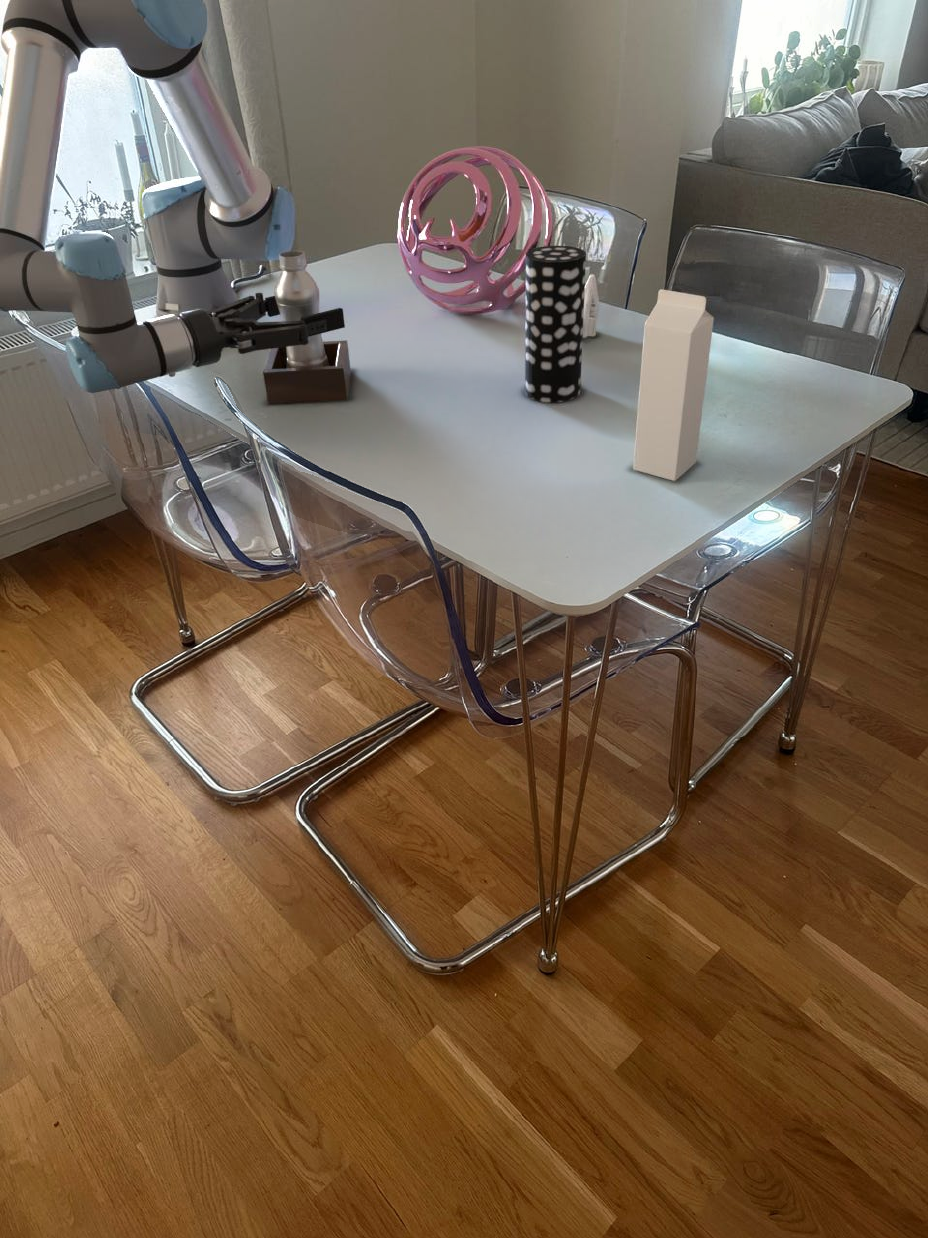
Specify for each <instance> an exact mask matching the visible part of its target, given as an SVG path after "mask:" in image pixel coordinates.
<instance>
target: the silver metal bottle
mask: <svg viewBox="0 0 928 1238" xmlns="http://www.w3.org/2000/svg"><path fill="white" fill-rule="evenodd" d="M305 253H306V252H304V251H302V250H291V251H286V252H282V253H280V254H279V260H278V261H279V264H278V265H279V269H280V270H281V273H280V275H279V277H278V278H277V281H276V282H275V285H274V293H273V294H274V295H273V296H275V299H276V302H277V305H278V309H279V312H280V315H279V316H280V318H281V321H299V320H301V319H300V318H301V317H305V316H309V315H313V314H317V313H320V288H319V286H318V284H317V282H316V280H315V279H314V278H313V276H312V275H311V274H310V273H309V272H308V271H307V269H306V268H307V267H308V262H307V260H306V254H305ZM308 341H309V343H308V344H307V345H296V346H288V347H286V348H287V368H305V367H324V366H330V365H329V362H328V359H327V356H326V355H325V349H324V345H323V342H324V341H323V336H322V333H321V334H317V335H314V336H310V337H308Z"/></svg>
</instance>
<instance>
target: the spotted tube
mask: <svg viewBox="0 0 928 1238" xmlns="http://www.w3.org/2000/svg"><path fill="white" fill-rule="evenodd" d="M543 246H544V245H543ZM543 246H539V247H536V248H534V249H531V250H529V251H528V252H526V268H525V280H526V291H525V292H524V294H525V297H524V299H525V301H524V302H525V303H524V304H525V305H524V306H525V309H524V311H525V316H524V317H525V319H524V321H525V322H524V325H525V329H524V332H525V333H524V335H525V336H524V339H525V340H524V341H525V342H524V343H525V344H524V393H525V395H526V396H527V397H528V398H530V399H532V400H534V401H537V402H542V403H562V402H567V401H571V400H573V399H575V398H577V397H579V396H580V394H581V389H582V387H581V386H582V384H581V383H582V365H583V364H582V361H583V339H584V338H583V331H584V330H583V316H584V292H585V285H586V266H587V265H586V264H587V252H586V251H585V250H584V249H582V248H579V247H575V246H571V245H551V246H544V247H543Z"/></svg>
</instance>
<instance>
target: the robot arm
mask: <svg viewBox="0 0 928 1238" xmlns="http://www.w3.org/2000/svg"><path fill="white" fill-rule="evenodd" d="M207 29H208V10H207V5H206V3H205V1H204V0H9V1H8V4H7V7H6V10H5V13H4V18H3V23H2V31H1V32H2V33H1V37H0V43H1V47H2V49H3V50H4V52H5V54H6V55H7V59H6V66H5V73H4V79H3V80H4V81H3V86H2V87H3V88H2V93H1V101H0V312H5V313H6V312H10V311H12V312H14V311H17V312H18V311H19V312H48V313H72V316H73V317H74V319H75V323H76V327H77V331H78V334H76V335H75V336H73V337H70V338H68V339H67V340H66V342H65V352H66V357H67V361H68V364H69V366H70V369H71V372H72V374H73V376H74V378H75V380H76V382H77V384H78V385H79V386H80V388H82V390H83V391H85V392H87V393H90V394H94V393H100V392H101V393H102V392H105V391H111V390H116V389H117V390H120V389H121V388H124V387H127V386H132V385H136V384H139V383H142V382H145V381H149V380H154V379H157V378H161V377H165V376H169V377H171V378H173V377H175V376H176V373H180V372H183V371H188V370H191V369H192V367H195V368H201V367H205V366H209V365H213V364H217V363H218V362H220V360H221V358H222V352H223V350H224V349H229V348H230V349H237V351H238V354H241V355H244V354H248V353H253V352H256V351H264V350H270V349H273V348H281V347H288V346H296V345H307V344H308V343H309V341H308V337H310V336H314V335H317V334H321V335H322V334H325V333H329V332H333V331H335V330H340V329H345V328H346V325H345V315H344V309H343V308H342V307H337V308H333V309H329V310H326V311H321V312H319V313H317V314H313V315H309V316H305V317H301V318H300V319H301V320H299V321H282V320H281V321H260V322H259V321H258V320H260V319H262V318H264V317H265V316H266V315H267V317H269V318H272V317H276V316H281V315H280V312H279V309H278V305H277V302H276V299H275V295H271V296H268V297H264V294H263V292H256V293H255V296H254V295H248V296H246V297H243V298H241V299H239V298H238V295H237V294H236V292H235V290H236V285H237V284H240V283H243V282H248V281H254V280H258V279H260V278H261V277H262V276H263V275H264V272H265V271H267V269H266V267H265V266H264V265H263V264H261V265H259V272H258V273H256V274H254V275H253V274H252V275H250V276H249V275H248V276H244V277H239V278H236V279H234V280H233V281H232V282H231V283H230V281H229V278H228V277H227V275H226V273H225V270H224V268H223V263H222V260H234V261H235V260H238V261H263V262H269V261H280V260H279V254H280V253H282V252H286V251H292V248H293V244H294V240H295V234H296V233H295V232H296V231H295V230H296V209H295V202H294V199H293V196H292V193H291V191H290V190H289V189H288V188H285V187H282V186H278V187H274V186H273V184H272V182H271V180H270V178H269V176H268V175H267V173H266V172H265V171H264V170H263V169H261V168H260V167H258V166H256V165H254V164H253V162H252V159H251V158H250V156H249V154H248V152H247V149H246V147H245V145H244V143H243V141H242V139H241V137H240V135H239V132H238V131H237V128H236V125H235V123H234V122H233V119H232V117H231V115H230V113H229V111H228V108H227V107H226V104H225V101H224V100H223V98H222V96H221V94H220V91H219V90H218V87H217V85H216V84H215V83H216V82H215V80H214V79H213V77H212V75H211V73H210V70H209V68H208V66H207V64H206V62H205V59H204V57H203V55H202V50H203V48H204V44H205V36H206V33H207ZM89 50H116V51H117V52H119V55H120V56H121V58H122V59H123V61H124V63H125V65H126V67H127V68H128V70H129V71H130V72H131V73H132V74H133V75H134V76H136V77H138V78H139V79H142V80H147V83H148V84H149V86H150V88H151V90H152V91H153V94H154V95H155V98H156V99H157V101H158V103H159V105H160V107H161V108H162V110H163V112H164V113H165V116H166V117H167V119H168V121H169V124H170V125H171V126H172V128H173V130H174V132H175V134H176V136H177V138H178V139H179V142H180V143H181V145H182V147H183V148H184V150H185V152H186V154H187V156H188V158H189V160H190V162H191V163H192V165H193V167H194V169H195V170H196V172H197V174H198V176H190V177H184V178H183V177H182V178H179V179H173V180H170V181H166V182H162V183H159V184H156V185H153V186H150V187H149V188H147V189H145V190H144V192H143V193H142V196H141V203H142V210H143V219H144V222H145V226H146V230H147V233H148V238H149V242H150V246H151V251H152V254H153V259H154V263H155V268H156V271H157V276H158V277H157V278H158V279H157V291H156V303H155V313H156V318H152V319H147V320H144V321H140V322H138V320H137V317H136V312H135V309H134V305H133V301H132V296H131V293H130V288H129V284H128V280H127V275H126V272H127V271H126V267H125V265H124V263H123V261H122V257H121V254H120V250H119V248H118V244H117V241H116V240H115V239H114V238H113V236H111V235H110V234H108V233H106V232H103V231H93V230H91V231H84V232H73V233H69V234H66V235H63V236H61V237H58V239H56V240H55V242H54V250H46V247H47V238H48V233H49V225H50V218H51V211H52V210H51V209H52V205H53V196H54V190H55V182H56V176H57V169H58V168H57V167H58V162H59V155H60V148H61V141H62V134H63V127H64V118H65V113H66V112H65V111H66V105H67V97H68V91H69V90H68V89H69V84H70V83H69V82H70V79H72V78H73V77H75V76H76V75H77V74H78V73H79V71H80V66H81V58H82V56H83V55H84V54H85V53H86V52H88V51H89Z"/></svg>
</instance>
